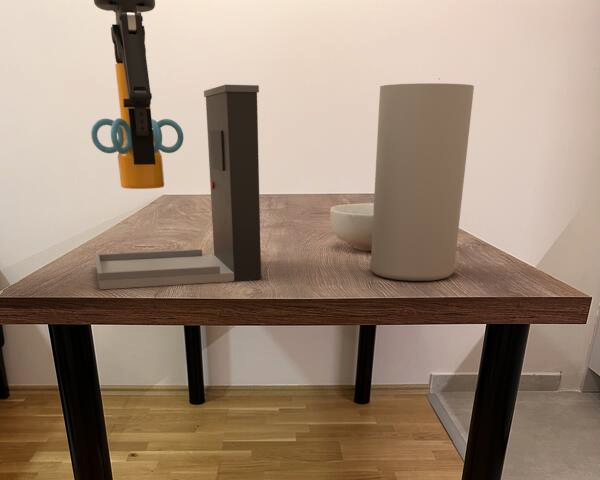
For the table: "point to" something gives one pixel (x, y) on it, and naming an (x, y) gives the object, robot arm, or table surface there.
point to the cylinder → (128, 171)
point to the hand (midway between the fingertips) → (140, 162)
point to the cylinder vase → (419, 179)
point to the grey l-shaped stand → (225, 207)
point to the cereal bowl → (354, 224)
